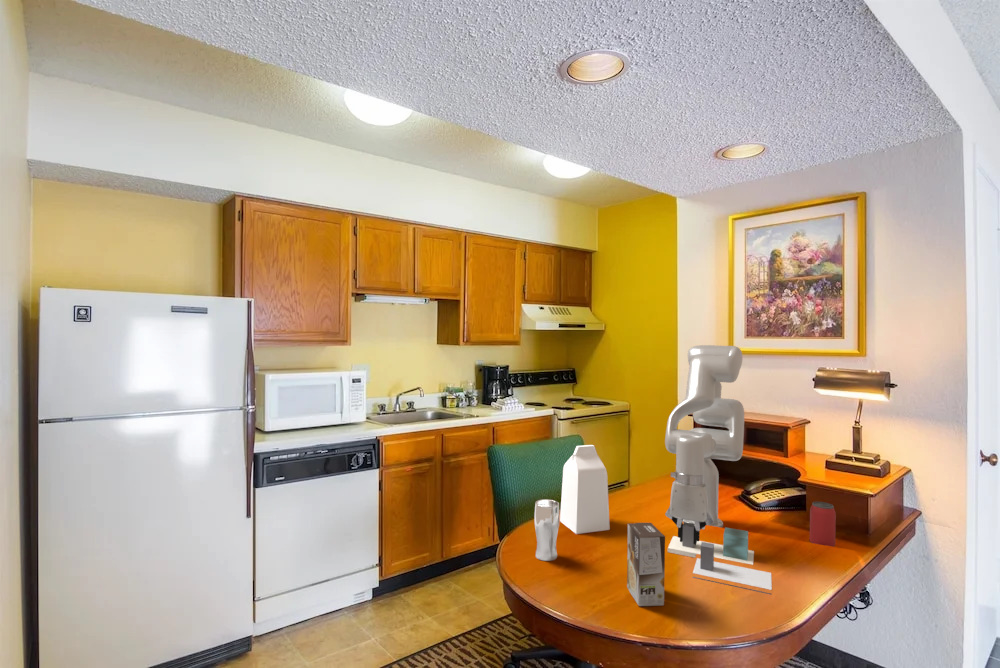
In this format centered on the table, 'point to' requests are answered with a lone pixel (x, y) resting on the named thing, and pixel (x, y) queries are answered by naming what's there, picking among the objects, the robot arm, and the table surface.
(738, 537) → the block
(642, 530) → the coffee box
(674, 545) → the strip
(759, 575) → the empty strip
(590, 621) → the table surface
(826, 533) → the beer can
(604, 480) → the milk
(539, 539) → the beer glass
